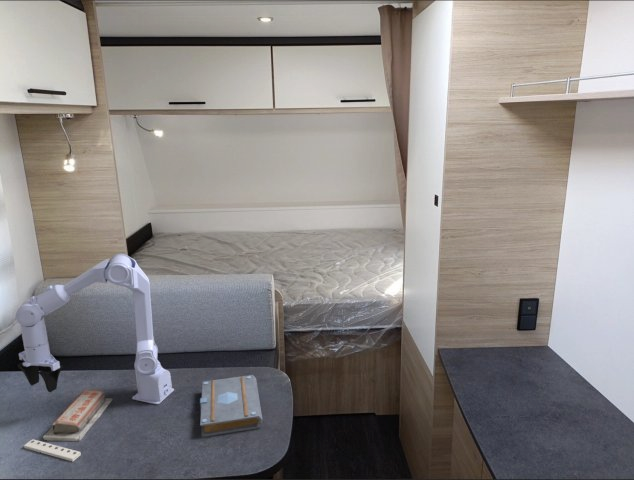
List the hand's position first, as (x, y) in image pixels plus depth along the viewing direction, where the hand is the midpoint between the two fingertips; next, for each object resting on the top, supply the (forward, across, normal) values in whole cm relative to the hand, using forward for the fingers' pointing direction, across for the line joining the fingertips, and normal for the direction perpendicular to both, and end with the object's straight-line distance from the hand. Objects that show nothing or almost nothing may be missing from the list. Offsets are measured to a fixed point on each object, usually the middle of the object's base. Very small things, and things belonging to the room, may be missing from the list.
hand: (43, 386), depth 129 cm
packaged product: (+9, +11, +2) cm, 14 cm away
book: (+8, +47, +23) cm, 53 cm away
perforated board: (+8, +16, -10) cm, 20 cm away
